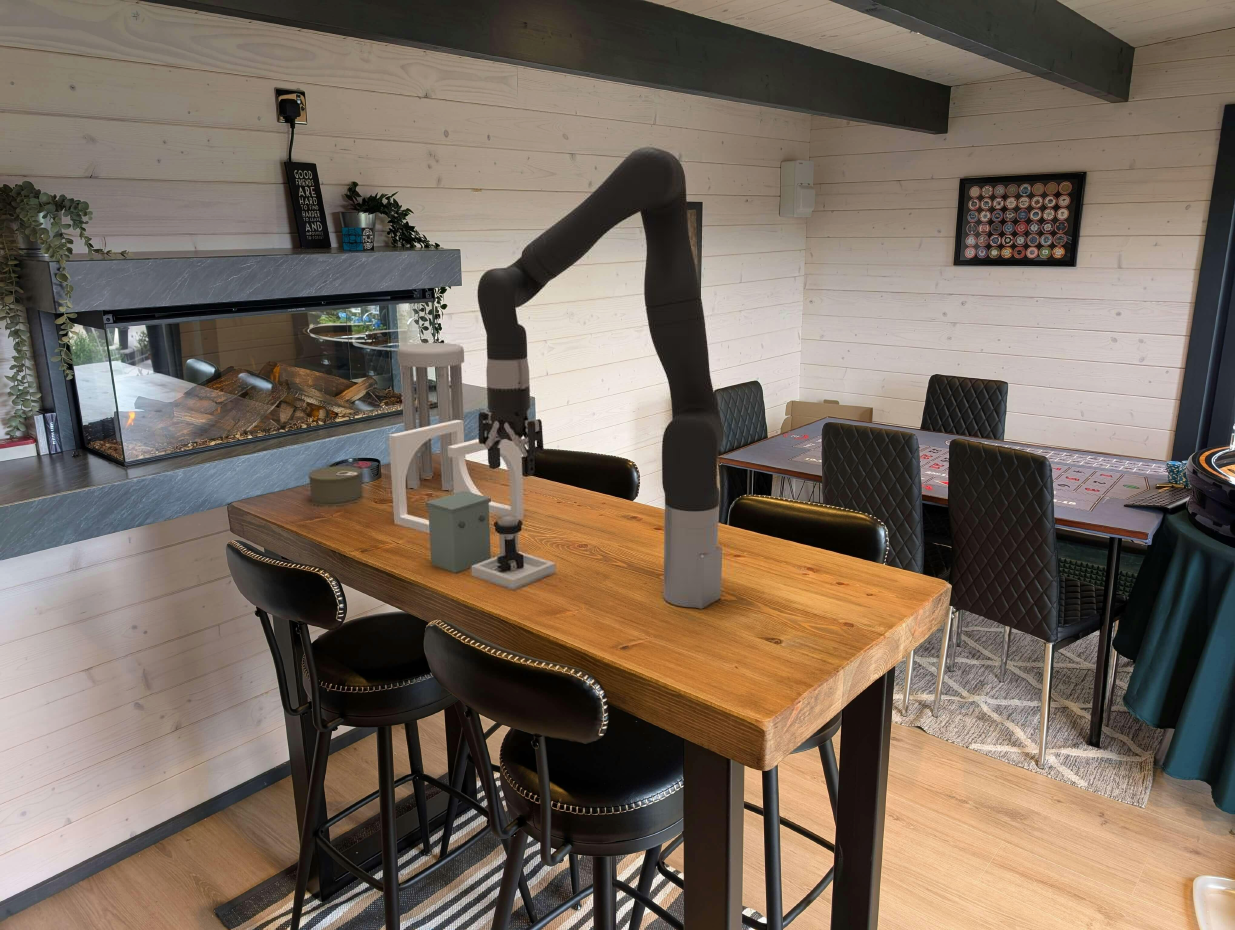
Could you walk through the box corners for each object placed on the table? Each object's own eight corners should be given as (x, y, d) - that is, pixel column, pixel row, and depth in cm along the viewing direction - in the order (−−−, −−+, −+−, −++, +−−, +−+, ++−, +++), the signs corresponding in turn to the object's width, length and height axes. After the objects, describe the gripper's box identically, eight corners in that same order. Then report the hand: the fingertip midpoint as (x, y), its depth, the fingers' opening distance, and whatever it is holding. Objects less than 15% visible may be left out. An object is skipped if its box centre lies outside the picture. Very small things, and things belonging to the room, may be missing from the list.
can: (326, 491, 218) (324, 464, 216) (372, 494, 216) (370, 467, 214) (301, 505, 206) (298, 477, 205) (348, 508, 204) (346, 480, 202)
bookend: (523, 517, 198) (521, 430, 193) (458, 542, 182) (454, 448, 177) (460, 502, 209) (457, 419, 204) (394, 523, 194) (388, 435, 189)
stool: (396, 490, 218) (387, 349, 209) (420, 474, 233) (412, 342, 224) (456, 494, 216) (449, 351, 207) (476, 477, 230) (471, 343, 222)
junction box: (493, 559, 172) (490, 498, 169) (455, 573, 165) (452, 509, 162) (466, 551, 177) (464, 490, 174) (429, 564, 170) (425, 501, 166)
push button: (498, 577, 162) (496, 525, 159) (484, 569, 166) (481, 518, 163) (529, 569, 166) (527, 518, 163) (514, 561, 170) (513, 512, 167)
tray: (555, 573, 165) (555, 563, 165) (513, 590, 157) (513, 580, 157) (514, 559, 172) (514, 550, 172) (471, 575, 164) (471, 565, 163)
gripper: (465, 382, 157) (469, 469, 161) (521, 390, 148) (524, 483, 152) (496, 377, 163) (499, 462, 167) (552, 384, 154) (554, 474, 158)
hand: (511, 472), depth 160 cm, fingers open, 8 cm apart
